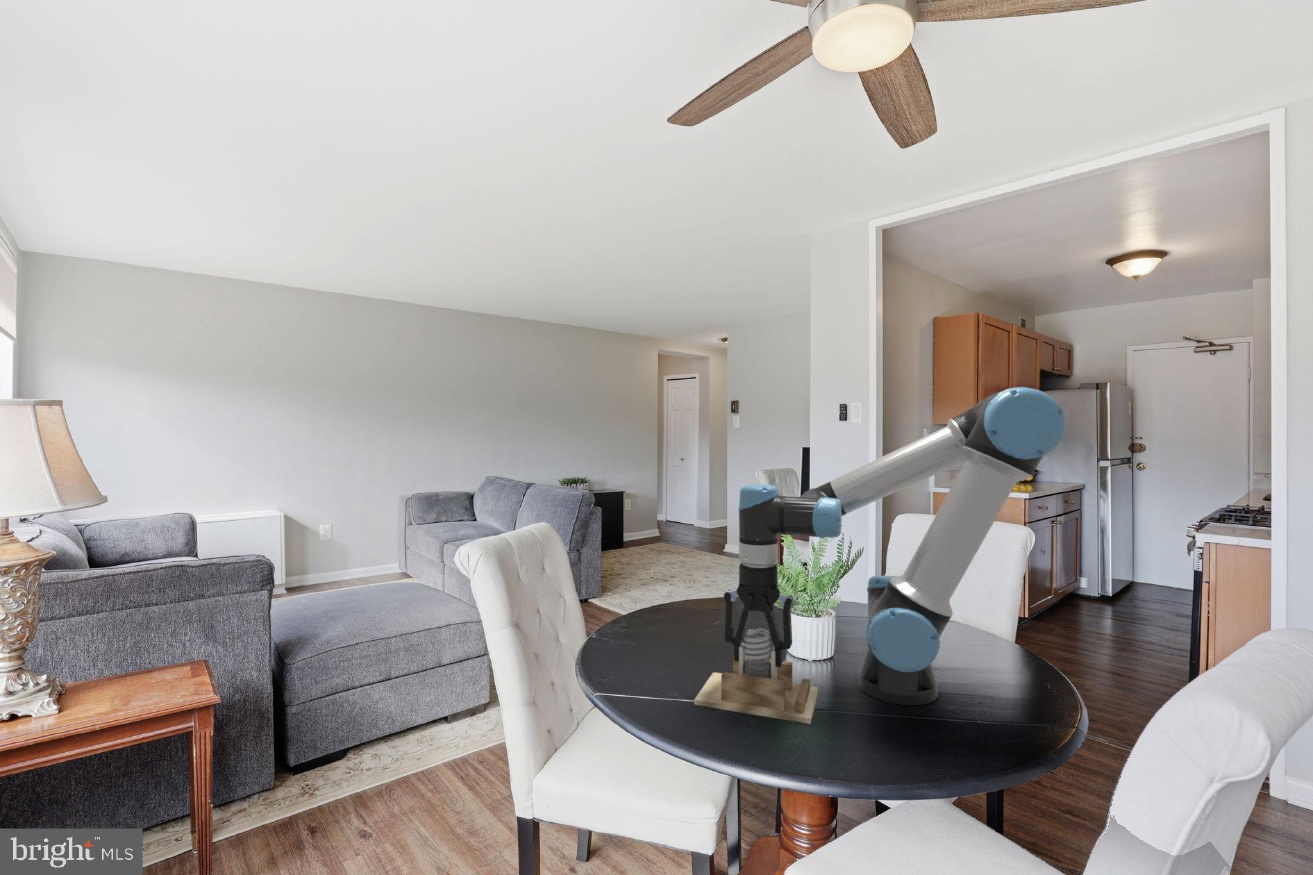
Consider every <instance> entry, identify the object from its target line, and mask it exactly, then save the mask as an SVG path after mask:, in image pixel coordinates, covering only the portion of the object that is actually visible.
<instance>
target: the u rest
mask: <svg viewBox="0 0 1313 875" xmlns="http://www.w3.org/2000/svg"><path fill="white" fill-rule="evenodd" d="M746 660H747V658H746ZM769 661H770V662H771V658H769ZM818 696H819V687H818V686H811V679H810V678H802V679H801V681H800V684H797V683H793V661H792V662H791V661H785V660H784V661H783V662H782V665H781V667H777V680H776V679H771V678H763V677H756V676H749V675H742V674H739V662H738V661H735V660H734V655H733V656H732V672H728V671H727V672H726V671H723V672H721V673H720V672H712V674H711V675H709V678H708V679H707V680H706V682H705V683H704V685H703V686H702V688H700V691H699V692H698V693H697V695H696V697H695V698H694V699H693V701H694V702H693V704H694V706H700V707H706V708H710V709H711V708H712V709H719V710H723V711H730V712H737V713H741V714H747V715H752V716H761V717H766V718H772V719H773V718H774V719H777V720H778V719H779V720H784V721H785V720H786V721H788V722H789V721H791V722H795V723H796V722H798V723H803V724H807V725H810V724H812V719H813V715H814V712H815V708H816V703H817V700H818Z"/></svg>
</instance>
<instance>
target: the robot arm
mask: <svg viewBox="0 0 1313 875" xmlns="http://www.w3.org/2000/svg"><path fill="white" fill-rule="evenodd" d="M1065 431H1066V417H1065V413H1064V412H1063V409H1062V407H1061V405H1060V404H1059V403H1058V401H1056V400H1055V399H1054V397H1052V395H1049V393H1046V392H1044V391H1042V390H1039V389H1036V388H1030V387H1028V386H1026V387H1025V386H1017V387H1016V386H1014V387H1011V388H1007V389H1005V390H1002V391H998V392H994V393H992V394H991V395H988V396H986V397H985V398H984V399H982V400H980V401H979V402H978V403H976V404H974V405H973V406H971V407H970V408H968V409H967V410H965V411H963V412H961V413H959V414H958V415H956V416H954V417H952V418H949V420H948V423H947V425H946V426H944V427H942V428H941V429H938V430H936V431H934V432H932V433H929V434H928V435H926V436H923V437H921V438H919V439H917V440H915V441H913V442H911V443H909V444H905V445H904V446H902V447H900V448H898V449H896V450H893V451H892V452H889V453H887V454H885V455H883V456H881V457H878V458H877V459H875V460H872V461H870V462H868V463H866V464H864V465H861V466H860V467H858V468H856V469H853V470H851V471H849V472H847V473H845V474H843V475H840V476H839V477H837V478H835V479H832V480H830V481H828V482H826V483H824V484H822V485H819V486H816V487H813V488H810V489H808V490H806V491H804V492H803V494H802V495H800V496H784V495H780V493H779V491H778V488H777V486H775V485H773V484H760V483H759V484H757V483H756V484H747V485H743V486H742V487H741V488H740V490H739V492H740V493H739V502H738V503H739V505H738V506H739V507H738V521H739V522H738V525H739V526H738V527H739V528H738V530H739V532H738V533H739V535H738V536H739V537H738V538H739V539H738V541H739V542H738V561H739V562H740V564H739V566H738V585H737V586H738V587H737V588H736V589H733V590H731V589H727V591H725V593H724V594H723V598H724V602H725V607H726V608H725V624H724V625H725V626H724V641H725V642H727V643H731V644H732V645H733V656H734V660H735V661H738V662H739V674H742V675H745V667H744V665H745V661H746V656H747V653H746V652H745V651H744V648H745V646H744V642H743V639H744V637H745V636H744V634H745V632H746V630H747V629H746V628H747V625H748V622H749V619H750V616H751V613H752V612H756V611H758V612H759V613H760V612H761V613H764V614H763V615H764V617H765V619H766V622H767V625H768V631H769V632H770V633H771V638H772V645H773V647H772V650H771V655H770V659H771V679H776V680H777V667H781V665H782V662H783V658H784V657H783V655H784V653H783V651H784V650H790V648H791V647H792V645H793V629H792V625H793V624H792V609H791V608H792V604H793V602H794V596H792V595H785V594H783V593H781V591H780V589H779V587H778V579H779V578H778V577H779V576H778V565H777V563H778V561H779V558H778V556H779V554H778V552H779V551H778V550H779V549H778V547H779V545H778V541H779V539H778V538H779V537H778V536H779V535H781V536H796V537H797V536H798V537H809V538H810V537H813V538H814V537H815V538H820V539H824V538H838V537H840V535H841V533H842V517H843V516H846V515H847V514H850V513H852V512H854V511H856V510H858V509H860V508H863V507H865V506H868V505H869V504H872V503H874V502H877V501H878V500H881V499H883V498H885V497H888V496H889V495H892V494H894V493H896V492H899V491H901V490H903V489H905V488H908V487H910V486H913V485H914V484H917V483H919V482H921V481H924V480H926V479H928V478H930V477H931V478H932V476H935V475H937V474H939V473H941V472H944V471H946V470H949V469H950V468H953V467H955V466H958V465H960V464H962V463H963V465H962V467H961V469H960V471H959V472H958V475H957V476H956V478H955V480H954V481H953V483H952V485H951V487H950V489H949V490H948V492H947V494H946V496H945V498H944V500H942V503H941V505H940V507H939V509H938V511H937V513H936V514H935V516H934V517H933V520H932V522H931V524H930V525H929V527H928V529H927V530H926V533H924V534H925V535H924V536H923V538H922V540H921V541H920V543H919V545H918V547H917V549H916V550H915V553H914V554H913V557H912V558H911V560H910V562H909V563H908V565H907V567H906V569H905V570H904V572H903V574H902V575H899V576H898V575H874V576H871V577H870V578H869V579H868V583H867V588H866V591H867V626H866V638H867V646H866V652H865V655H864V657H863V660H862V663H861V665H860V668H859V670H858V671H859V672H858V683H857V684H858V688H860V690H861V691H862V692H864V694H866V695H867V696H870V697H872V698H874V699H877V700H879V701H882V702H885V703H890V704H894V705H901V706H922V705H927V704H931V703H933V702H935V701H936V700H937V699H938V697H939V695H938V694H939V692H938V690H939V687H938V686H939V685H938V682H937V677H936V675H935V672H934V668H933V666H932V663H933V662H934V661H935V660H936V658H937V656H938V654H939V650H940V648H941V647H940V644H941V640H940V638H941V635H943V632H944V631H945V629H946V627H947V625H948V623H949V621H950V620H951V618H952V617H953V615H954V612H953V609H952V607H951V604H950V600H951V598H952V596H953V595H954V593H955V592H956V590H957V588H958V586H959V585H960V582H961V581H962V579H963V577H964V576H965V574H966V572H967V571H968V569H969V567H970V565H971V563H972V562H973V559H974V558H975V556H976V555H977V553H978V551H979V549H980V547H981V546H982V544H983V542H984V540H985V539H986V537H987V535H988V534H989V532H990V530H991V528H992V526H993V525H994V522H995V521H996V519H997V517H998V516H999V514H1000V512H1001V510H1002V509H1003V508H1004V507H1003V506H1004V505H1005V503H1006V502H1007V501H1008V498H1009V497H1010V496H1011V494H1012V491H1013V489H1014V488H1015V486H1016V484H1017V483H1018V482H1020V481H1024V480H1027V479H1030V478H1032V477H1033V475H1034V473H1035V471H1036V470H1037V468H1038V467H1039V464H1040V463H1041V462H1042V459H1043V457H1044V456H1046V455H1048V454H1050V452H1052V451H1053V450H1054V449H1056V448H1057V446H1058V445H1059V443H1060V442H1061V441H1062V438H1063V436H1064V434H1065ZM757 539H758V540H757ZM745 559H747V560H745ZM738 598H739V599H740V601H741V602H742V604H743V610H742V612H741V617H740V620H739V623H738V626H737V630H736V634H735V633H734V630H735V629H734V628H735V627H734V626H735V610H736V609H735V607H736V601H737V599H738ZM778 600H779V601H780V604H779V605H780V606H781V607H782V624H783V625H782V628H783V639H782V635H781V632H780V628H779V626H778V625H779V624H778V622H777V619H776V615H775V608H774V604H775V603H777V601H778Z"/></svg>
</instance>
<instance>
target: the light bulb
mask: <svg viewBox="0 0 1313 875" xmlns="http://www.w3.org/2000/svg"><path fill="white" fill-rule="evenodd" d="M744 634H745V636H743V639H744V642H743V643H744V646H745V648H744V651H745V652H746V658H747V660H746V661H745V665H744V667H745V675H749V676H756V677H763V678H771V662H770V661H769V659H771V650H772V648H773V647H774V644H773V640H772V637H771V633H770V630H769V629H768V630H767V629H766V628H762V627H757V629H746V630H745V632H744Z"/></svg>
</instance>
